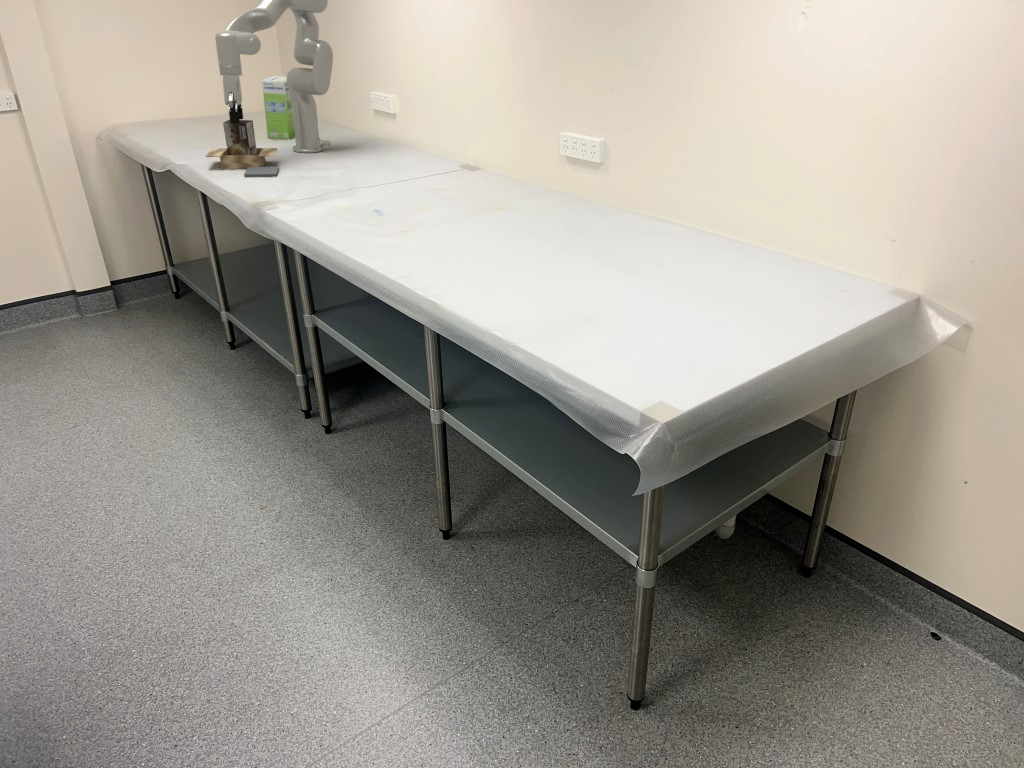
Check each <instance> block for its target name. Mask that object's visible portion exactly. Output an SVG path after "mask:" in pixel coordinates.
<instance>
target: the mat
mask: <svg viewBox="0 0 1024 768" xmlns="http://www.w3.org/2000/svg"><path fill="white" fill-rule="evenodd" d="M279 169H280V166H263V167H248V169H247V170H245V172H244V173H243V176H244V178H274V177H273V176H278V174H279V172H278V171H280V170H279Z"/></svg>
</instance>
